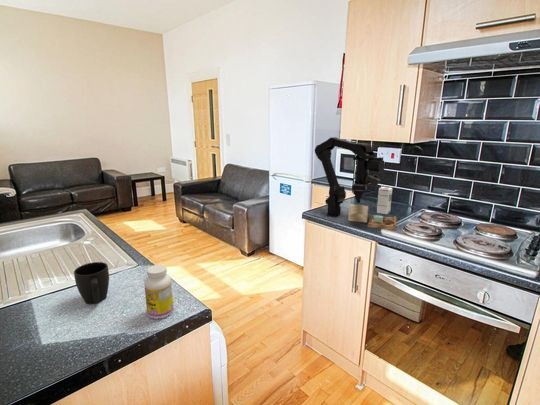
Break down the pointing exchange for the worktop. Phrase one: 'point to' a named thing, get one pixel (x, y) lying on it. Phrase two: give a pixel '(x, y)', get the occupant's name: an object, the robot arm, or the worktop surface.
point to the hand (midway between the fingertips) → (359, 201)
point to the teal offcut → (378, 218)
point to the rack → (383, 226)
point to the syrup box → (384, 200)
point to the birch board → (358, 213)
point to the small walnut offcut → (388, 221)
